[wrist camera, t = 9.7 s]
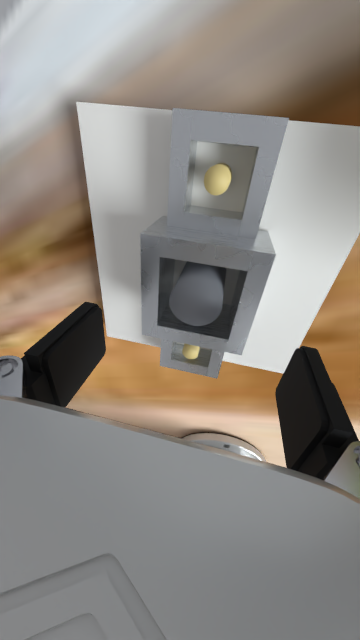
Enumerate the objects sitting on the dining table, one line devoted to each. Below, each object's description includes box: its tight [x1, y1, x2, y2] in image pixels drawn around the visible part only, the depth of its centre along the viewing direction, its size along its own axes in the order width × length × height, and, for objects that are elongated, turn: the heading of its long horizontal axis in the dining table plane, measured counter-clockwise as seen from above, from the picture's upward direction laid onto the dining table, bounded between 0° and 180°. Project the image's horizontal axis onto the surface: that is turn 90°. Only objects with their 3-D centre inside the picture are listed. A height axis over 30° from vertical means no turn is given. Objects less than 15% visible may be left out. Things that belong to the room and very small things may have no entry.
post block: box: [76, 102, 360, 374], centre depth 15 cm, size 16×16×6 cm
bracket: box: [140, 108, 289, 378], centre depth 14 cm, size 16×6×4 cm, turn 175°
